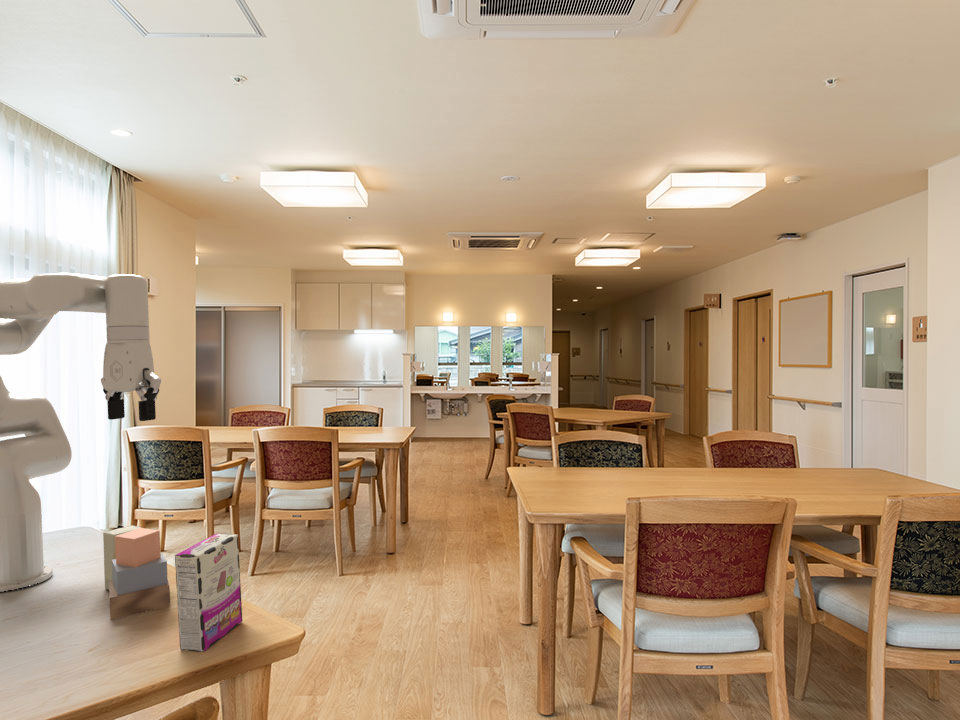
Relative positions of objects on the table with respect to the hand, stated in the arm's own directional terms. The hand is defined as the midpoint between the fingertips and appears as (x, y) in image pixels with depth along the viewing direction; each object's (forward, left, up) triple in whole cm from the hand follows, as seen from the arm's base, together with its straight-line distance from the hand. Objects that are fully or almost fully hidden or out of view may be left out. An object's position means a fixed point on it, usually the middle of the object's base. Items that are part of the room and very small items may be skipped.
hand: (131, 419), depth 122 cm
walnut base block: (+2, -5, -37) cm, 37 cm away
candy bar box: (+20, -22, -36) cm, 47 cm away
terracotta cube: (+2, -5, -28) cm, 28 cm away
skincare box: (-5, +6, -36) cm, 37 cm away
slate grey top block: (+2, -5, -32) cm, 33 cm away
